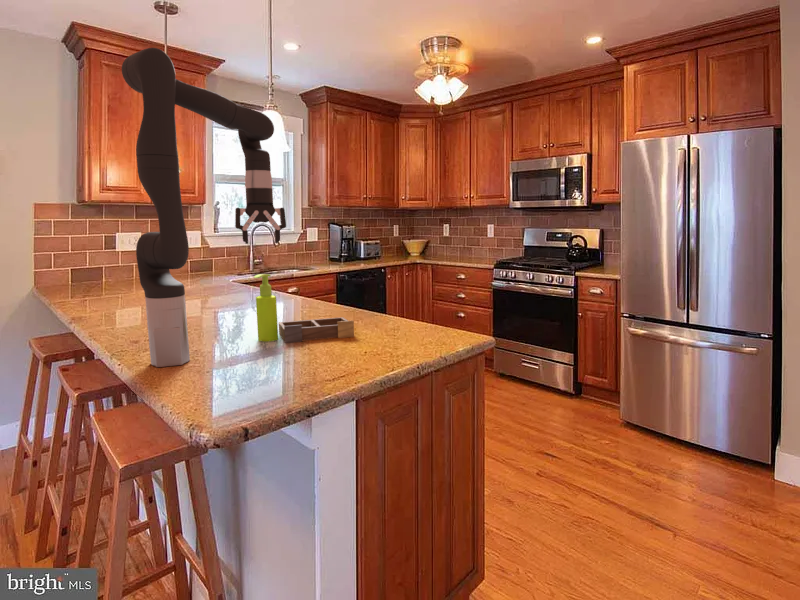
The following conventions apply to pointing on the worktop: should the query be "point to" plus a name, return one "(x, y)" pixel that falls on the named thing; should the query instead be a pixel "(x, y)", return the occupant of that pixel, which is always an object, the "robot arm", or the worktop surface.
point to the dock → (316, 329)
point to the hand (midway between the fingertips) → (261, 243)
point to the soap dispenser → (266, 311)
